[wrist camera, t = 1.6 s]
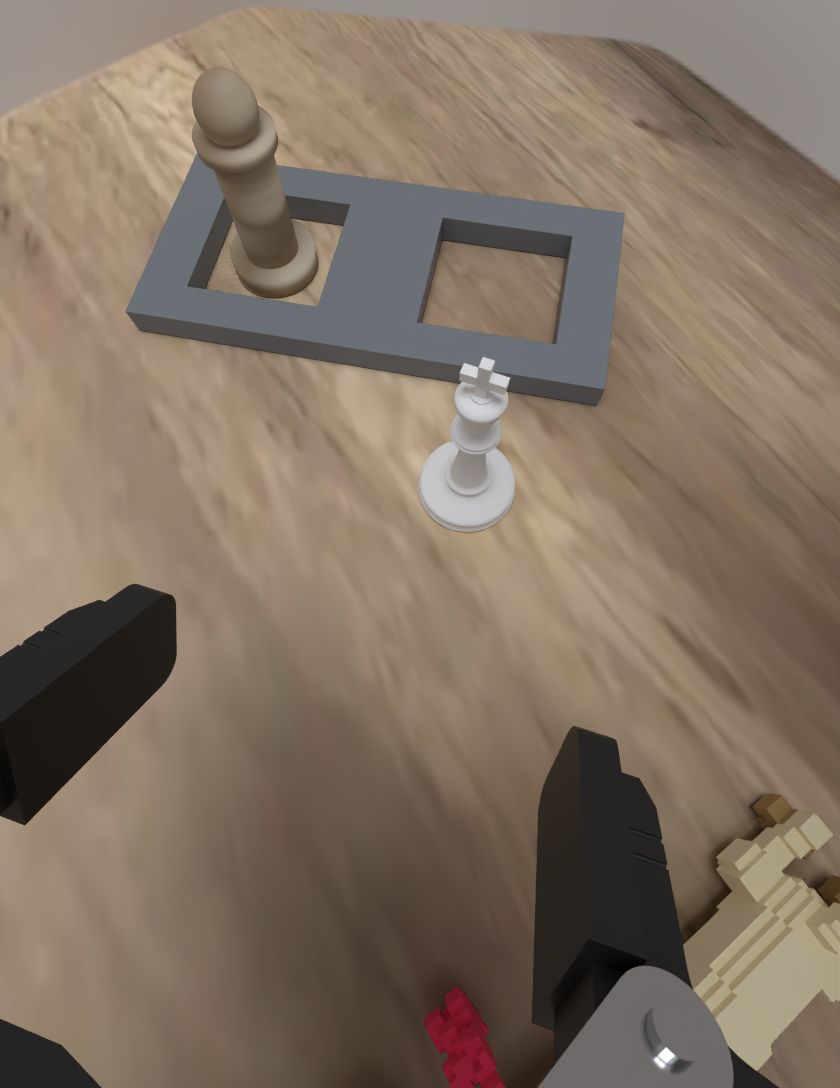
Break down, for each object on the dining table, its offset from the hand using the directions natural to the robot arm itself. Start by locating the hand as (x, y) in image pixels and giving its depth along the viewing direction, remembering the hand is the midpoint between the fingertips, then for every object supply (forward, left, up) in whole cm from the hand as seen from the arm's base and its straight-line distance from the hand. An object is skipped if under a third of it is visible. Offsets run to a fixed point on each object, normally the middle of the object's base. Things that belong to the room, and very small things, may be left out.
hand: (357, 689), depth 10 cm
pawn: (+12, -23, -14) cm, 30 cm away
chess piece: (-1, -11, -15) cm, 18 cm away
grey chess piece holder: (+6, -23, -14) cm, 28 cm away
